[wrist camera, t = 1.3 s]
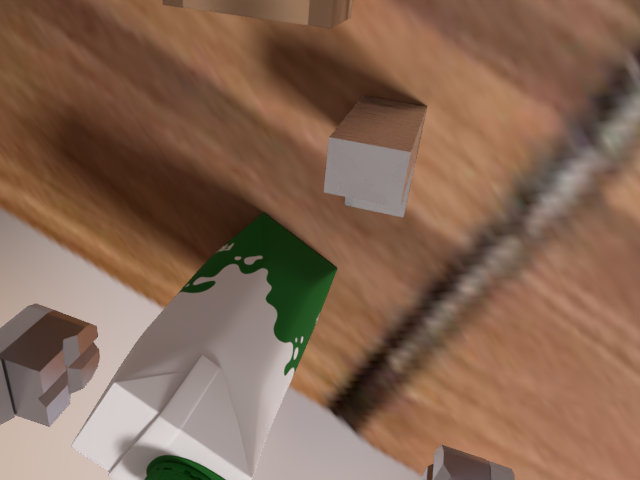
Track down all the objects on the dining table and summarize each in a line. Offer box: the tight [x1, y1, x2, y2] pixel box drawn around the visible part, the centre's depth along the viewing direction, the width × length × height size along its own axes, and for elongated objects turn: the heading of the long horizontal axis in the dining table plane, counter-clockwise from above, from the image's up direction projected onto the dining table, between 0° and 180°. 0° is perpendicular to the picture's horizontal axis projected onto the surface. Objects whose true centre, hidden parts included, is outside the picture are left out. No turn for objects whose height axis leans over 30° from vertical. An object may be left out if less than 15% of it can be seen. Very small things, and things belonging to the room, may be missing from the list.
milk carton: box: [71, 213, 337, 480], centre depth 31 cm, size 9×9×20 cm
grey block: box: [324, 96, 427, 217], centre depth 28 cm, size 4×7×8 cm, turn 175°
